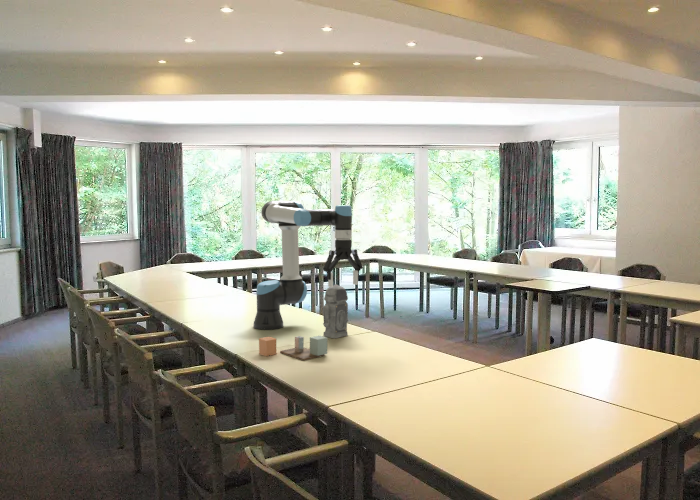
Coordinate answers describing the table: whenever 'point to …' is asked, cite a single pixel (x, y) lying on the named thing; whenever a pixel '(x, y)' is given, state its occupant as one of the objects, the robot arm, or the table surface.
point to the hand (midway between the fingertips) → (343, 285)
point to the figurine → (335, 312)
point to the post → (299, 344)
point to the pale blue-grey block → (318, 345)
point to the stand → (300, 354)
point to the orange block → (267, 346)
